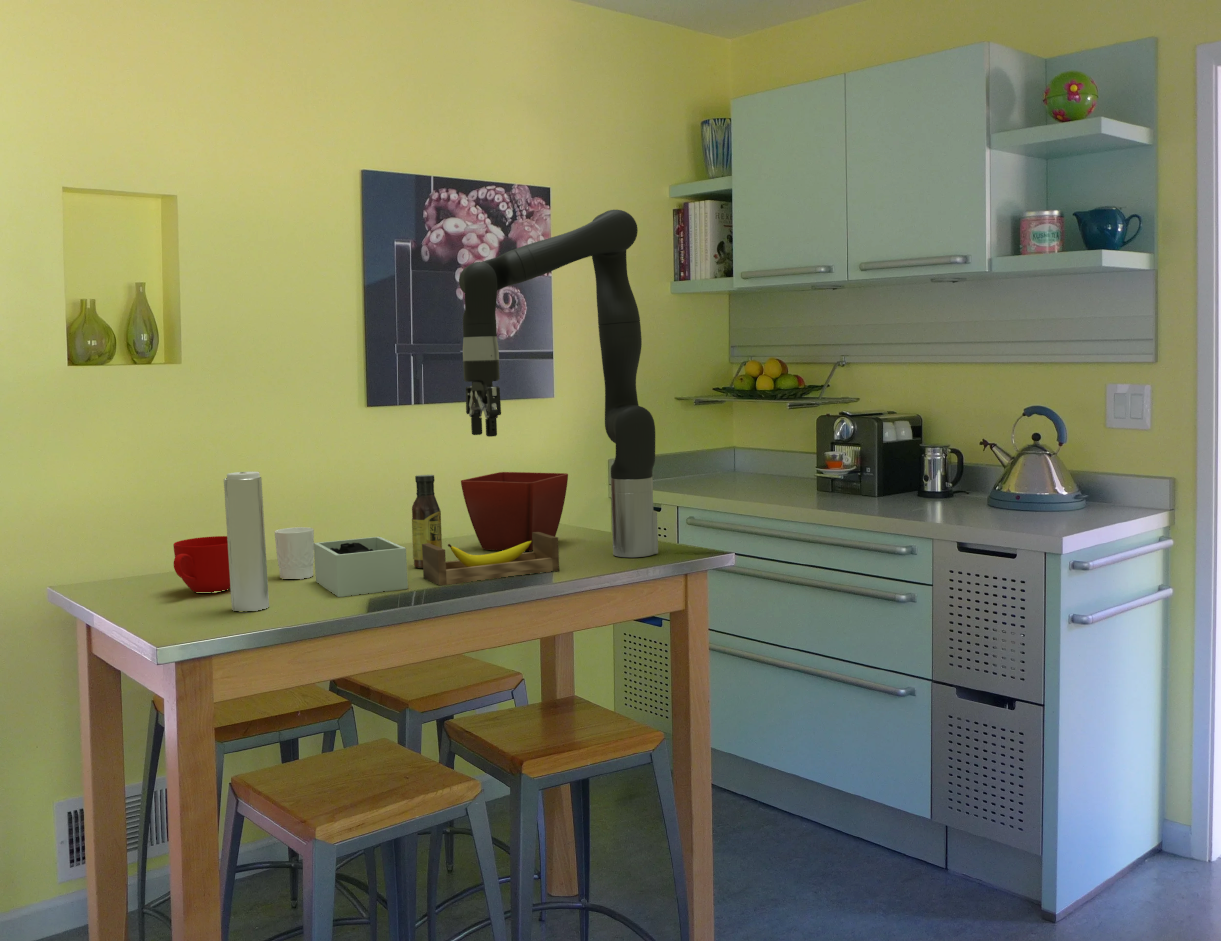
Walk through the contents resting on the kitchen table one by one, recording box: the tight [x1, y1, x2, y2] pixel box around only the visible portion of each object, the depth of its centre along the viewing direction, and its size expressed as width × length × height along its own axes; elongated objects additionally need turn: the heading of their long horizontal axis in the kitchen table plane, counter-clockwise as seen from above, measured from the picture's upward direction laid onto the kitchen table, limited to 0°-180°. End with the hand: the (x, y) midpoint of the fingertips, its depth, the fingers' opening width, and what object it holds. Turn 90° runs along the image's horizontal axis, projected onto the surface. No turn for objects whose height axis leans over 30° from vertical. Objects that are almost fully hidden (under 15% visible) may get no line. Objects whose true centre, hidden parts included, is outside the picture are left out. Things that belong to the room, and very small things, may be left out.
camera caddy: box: [314, 536, 409, 598], centre depth 224 cm, size 14×19×8 cm
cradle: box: [422, 532, 560, 586], centre depth 232 cm, size 26×10×7 cm, turn 117°
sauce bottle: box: [411, 474, 443, 569], centre depth 242 cm, size 7×6×20 cm
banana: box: [447, 541, 532, 567], centre depth 232 cm, size 3×19×6 cm, turn 122°
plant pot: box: [460, 471, 569, 552], centre depth 265 cm, size 19×19×17 cm
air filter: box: [223, 471, 270, 612], centre depth 204 cm, size 6×6×25 cm
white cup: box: [274, 526, 315, 580], centre depth 235 cm, size 8×8×10 cm
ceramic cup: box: [173, 535, 231, 592], centre depth 221 cm, size 13×17×10 cm
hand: (484, 435), depth 239 cm, fingers open, 8 cm apart
